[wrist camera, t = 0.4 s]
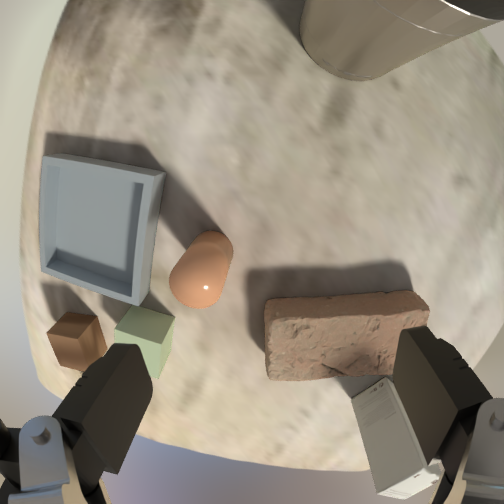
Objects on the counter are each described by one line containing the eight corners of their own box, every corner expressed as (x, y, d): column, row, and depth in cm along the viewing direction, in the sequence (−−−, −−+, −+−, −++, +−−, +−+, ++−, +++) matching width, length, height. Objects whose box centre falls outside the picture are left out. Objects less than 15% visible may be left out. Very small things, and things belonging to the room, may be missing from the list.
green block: (133, 303, 31) (114, 328, 26) (175, 316, 31) (161, 344, 27) (131, 337, 33) (115, 364, 28) (170, 350, 33) (158, 378, 28)
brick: (266, 358, 33) (265, 387, 28) (263, 295, 30) (262, 321, 26) (402, 347, 32) (416, 372, 27) (416, 286, 29) (435, 308, 24)
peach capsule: (195, 226, 28) (172, 253, 21) (237, 236, 28) (227, 267, 21) (188, 264, 29) (166, 300, 22) (228, 275, 29) (216, 314, 23)
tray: (60, 153, 25) (42, 155, 23) (166, 172, 26) (154, 176, 23) (55, 261, 30) (41, 271, 27) (149, 292, 30) (138, 306, 28)
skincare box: (349, 398, 34) (370, 494, 21) (387, 373, 33) (423, 469, 19) (379, 420, 36) (401, 502, 22) (413, 398, 35) (445, 480, 21)
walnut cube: (67, 311, 32) (46, 332, 28) (97, 315, 32) (77, 339, 28) (77, 343, 34) (60, 365, 30) (107, 348, 34) (91, 373, 29)
